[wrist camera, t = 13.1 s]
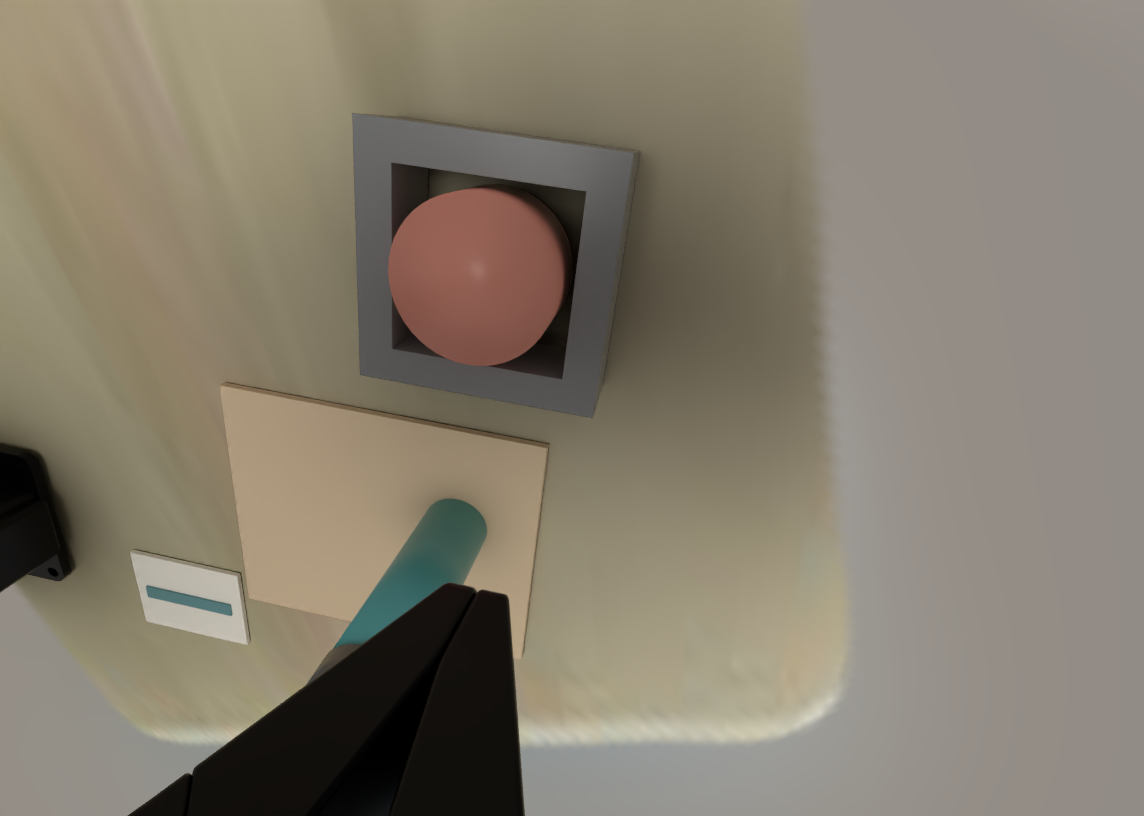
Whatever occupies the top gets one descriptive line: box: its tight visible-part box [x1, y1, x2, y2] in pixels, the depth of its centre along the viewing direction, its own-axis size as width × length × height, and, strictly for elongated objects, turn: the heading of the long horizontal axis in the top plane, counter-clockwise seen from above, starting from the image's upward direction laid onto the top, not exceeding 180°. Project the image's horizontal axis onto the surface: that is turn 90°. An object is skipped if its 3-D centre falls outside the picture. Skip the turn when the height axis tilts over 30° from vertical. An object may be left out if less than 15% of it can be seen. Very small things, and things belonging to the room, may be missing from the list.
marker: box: [306, 499, 487, 685], centre depth 18 cm, size 2×2×8 cm
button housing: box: [352, 113, 640, 418], centre depth 17 cm, size 7×7×2 cm
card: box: [130, 550, 250, 645], centre depth 26 cm, size 5×4×1 cm
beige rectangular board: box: [219, 382, 549, 660], centre depth 23 cm, size 12×10×1 cm
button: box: [388, 184, 573, 366], centre depth 16 cm, size 4×4×2 cm
